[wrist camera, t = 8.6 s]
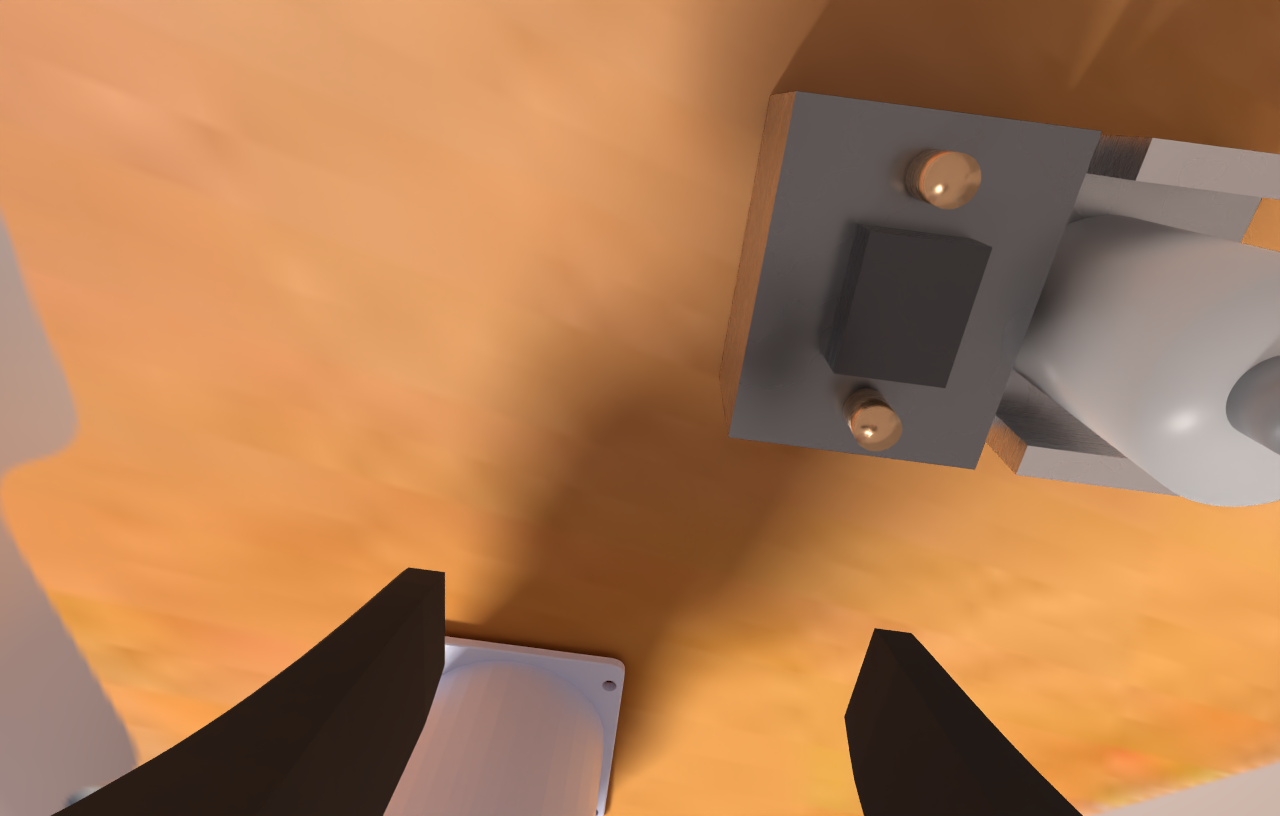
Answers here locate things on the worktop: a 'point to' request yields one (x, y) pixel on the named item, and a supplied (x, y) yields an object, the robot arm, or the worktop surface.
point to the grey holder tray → (939, 276)
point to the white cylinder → (1166, 353)
